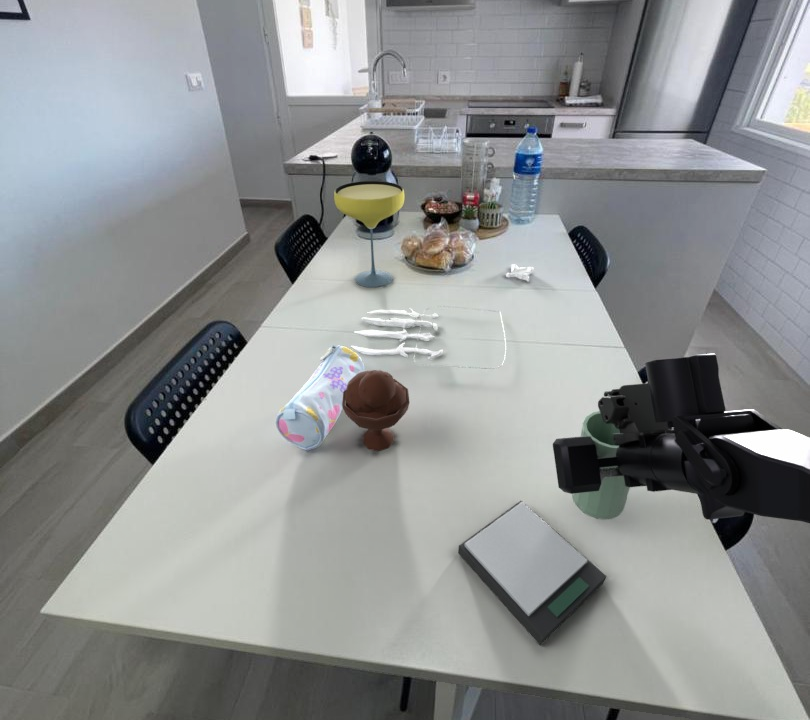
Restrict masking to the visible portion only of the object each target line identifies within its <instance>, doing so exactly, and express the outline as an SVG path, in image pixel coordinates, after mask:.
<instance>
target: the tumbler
mask: <svg viewBox="0 0 810 720" xmlns="http://www.w3.org/2000/svg"><path fill="white" fill-rule="evenodd" d="M615 433H620V430H619V429H616V428H615V425H614V424H606V423H605V422H604V421H603V419H602V416H601V413H600V410H599V411H593V412H591V413H590V414H588V415H587V416H586V417H585V418H584V420H583V422H582V427H581V432H580V437H583V436H591V438H592V440H593V441H594V443H595V445H596V451H597V454H598V456H599V458H601V457H612V456H616V451H617V448H618V446H619V445H615V444H614V438H613V434H615ZM616 467H618V466H611V467H601V468H600V469H602V470H603V468H604V469H606V468H615V469H616ZM630 489H631V487H626V486H625V481H624V476H616V477H606V478H603V481H602V484H601V486H600V489H599V491H593V492H583V493H573V494H571V496H572V501H573V503H574V504H575V506H576V507H577V508H578V510H580V511H581V512H582V513H584V514H586V515H587V516H589V517H591V518H593V519H597V520H611V519H614V518H615V519H616V518H617V517H618V516H620V515H621V514H622V513H623V512H624V509H625V505H626V503H627V499H628V496H629V492H630Z"/></svg>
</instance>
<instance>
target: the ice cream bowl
mask: <svg viewBox="0 0 810 720" xmlns="http://www.w3.org/2000/svg"><path fill="white" fill-rule="evenodd" d="M409 395H410V393H409V388H408V387H406V386H405V385H404V384H402V383H401V382H399V381H398V380H397V379H396V378H394V376H393V375H392V374H391V373H390V372H388V371H383V370H381V369H378V370H377V369H372V370H365V371H363V372H360V373H358V374H357V375H355V376H354V377H353V378H352V379H351V380H350V381H349V382H348V384H347V389H346V390H345V391H344V392H343V401H342V407H343V409H342V411H343V412H344V413H345V416H347V418H349V419H350V420H351V421H352V422H353V423H354V424H355V425H356V426H357V427H359V428H361V429H365V430H366V431H364V433H363V435H362V444H363V445H364V446H365V447H366V448H367V449H368V450H371V451H376V452H380V451H383V450H387V449H389V448H390V447H391V446H392V445H393V443H394V442H395V440H394V433H393V432H392V430H391V429H389V428H392V427H394V426H396V425H397V423H398V422H399V421H400V420H401V419H403V417H404V416H405V415H406V413H407V412H408V410H409V407H410V396H409Z"/></svg>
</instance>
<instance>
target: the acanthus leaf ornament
mask: <svg viewBox="0 0 810 720" xmlns="http://www.w3.org/2000/svg"><path fill="white" fill-rule="evenodd" d="M533 271H534V266H526V267H525V266H521V267H519V266H518V265H517V264H515V263H512V264H510V272H507V273H506V274H505V277H506V278H518V279H519V280H523V281H526V282H530V275H531V274H533V273H532V272H533Z"/></svg>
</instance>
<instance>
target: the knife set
mask: <svg viewBox="0 0 810 720" xmlns="http://www.w3.org/2000/svg"><path fill="white" fill-rule="evenodd" d="M432 308H434V306H433V307H428V308H426V309H425V311H426V310H431V309H432ZM438 308H450V306H448V305H446V306H445V305H443V306H441V305H439V306H438ZM453 308H455V309H462V307H460V306H453ZM408 309H409V311H410V312H408V311H407V309H404V310H397V309H376V310H371V311H368V312H366V313H365V314H366V315H374V314H375V315H376V314H386V315H401V316H409V317H411V318H397V317H391V318H387V320H385V319H384V318H377V317H375V318H374V317H365V316H364V317H361V320H362V322H364V323H365V324H368V325H372V326H376V327H377V326H378V327H387V328H389V327H391V328H402V331H401V330H400V331H386V330H379V329H378V330H377V329H365V330H358V331H357V330H356V331H353V333H354V334H357V335H361V336H364V337H369V338H391V339H397V340H398V341H399V343H400V344H399V346H398V347H396V348H391V349H375V348H368V347H362V346H361V347H359V346H355V345H350V347H351V348H352V349H353V350H354V351H355V352H357V353H359V354H363V355H368V356H382V355H383V356H384V355H394V356H395V355H400V356H401V357H404V358H407V359H408V358H409V353H410V354H414V356H413V358H415V357H416V354H420V355H424V356H425V355H428V356H427V360H434V359H437V358H438V357H441V355H442V354H443V349H440V350H437V351H434V350H430V349H426V348H418V343H419V340H421V341H426V342H430V340H433V339H436V337H435V336H434V335H432V334H431V333H430V332H427V333H421V329H422V327H425V328H433V330H435V331H436V332H438V324H437V323H432V322H431V321H428V320H417V319H418V318H432V319H437V318H438V313H437V312H434V313H432V314H424V313H425V311H423V313H422V314H421V313H419V312H416V311H415V310H413V308H411V307H408ZM464 309H465V310H466V309H467V310H473V308H472V307H471V308H469V307H464ZM474 310H477V311H483V309H481V308H474ZM485 311H486V312H492V310H491V309H484V312H485ZM493 312H494V313H495V312H496V313H499V315H500V321H501V326H502V332H503V337H504V348H505V349H504V350H505V351H504V359H503V361H502V363H501V365H499V366H498V367H497V369H499V368H501V367H502V366H503V365H504V362H505V359H506V356H507V355H506V354H507V341H506V332H505V329H504V323H503V318H502V312H501V311H499V310H493ZM413 318H414V319H416V320H414V319H413ZM414 327H419V331H418V333H408V331H407V328H414ZM407 339H413V340H417V342H416V346H415V347H405V346H406V340H407ZM413 360H414V363H416V364H420V365H423V366H424V365H425V366H435V367H437V366H438V367H448V364H447V365H446V364H445V365H444V364H432V363H423V362H418V361H416V360H415V359H413ZM450 367H453V368H462V366H461V365H459V366H458V365H449V368H450ZM463 368H464V369H465V368H467V369H479V367H478V366H477V367H475V366H463ZM480 369H483V370H487V369H488V370H491V369H494V370H495V369H496V367H480Z"/></svg>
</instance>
